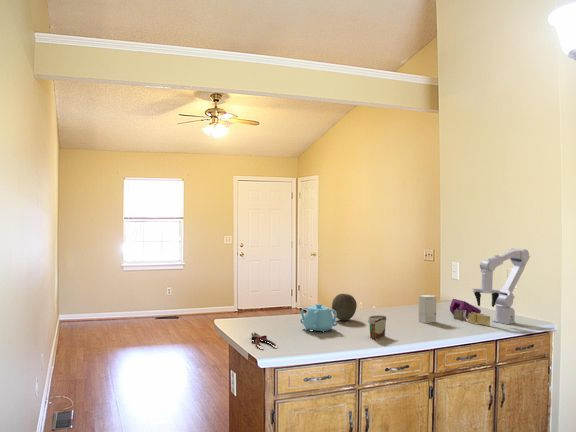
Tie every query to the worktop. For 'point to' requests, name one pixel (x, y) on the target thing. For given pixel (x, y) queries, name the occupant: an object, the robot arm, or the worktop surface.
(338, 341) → the worktop surface
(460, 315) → the fixed leaf
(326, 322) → the decorative pot
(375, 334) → the food container
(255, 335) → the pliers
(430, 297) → the skincare box
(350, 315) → the dark brown ball
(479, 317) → the loose leaf
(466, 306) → the mounting bracket
